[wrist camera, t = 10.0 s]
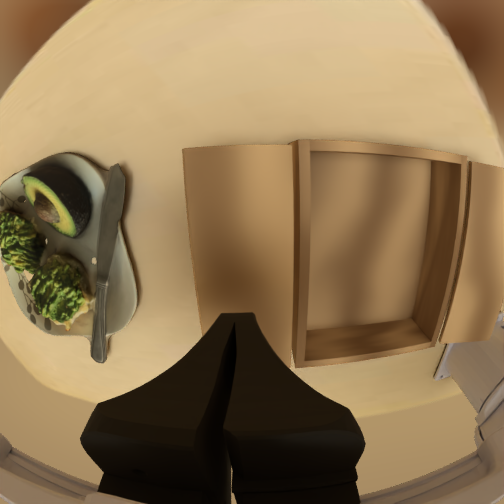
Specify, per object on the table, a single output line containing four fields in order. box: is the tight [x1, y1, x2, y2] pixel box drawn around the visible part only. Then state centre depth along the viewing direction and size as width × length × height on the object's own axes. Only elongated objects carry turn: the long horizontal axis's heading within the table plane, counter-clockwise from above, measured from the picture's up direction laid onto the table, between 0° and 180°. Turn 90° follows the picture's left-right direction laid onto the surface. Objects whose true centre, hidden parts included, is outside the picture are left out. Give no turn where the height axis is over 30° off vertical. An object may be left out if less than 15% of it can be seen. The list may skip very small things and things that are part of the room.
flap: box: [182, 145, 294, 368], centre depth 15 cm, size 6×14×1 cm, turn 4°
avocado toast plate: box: [0, 152, 138, 363], centre depth 19 cm, size 19×18×5 cm
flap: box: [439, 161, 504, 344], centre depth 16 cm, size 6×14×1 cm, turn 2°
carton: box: [288, 140, 467, 368], centre depth 18 cm, size 12×15×4 cm
